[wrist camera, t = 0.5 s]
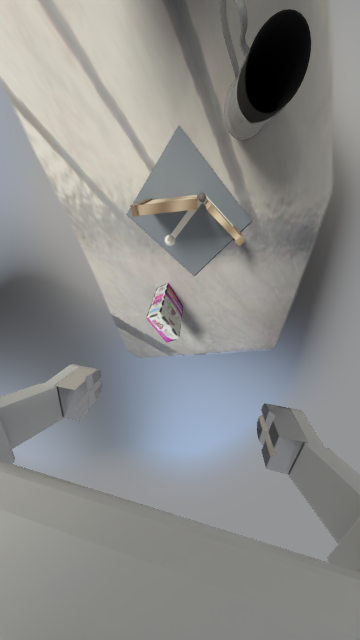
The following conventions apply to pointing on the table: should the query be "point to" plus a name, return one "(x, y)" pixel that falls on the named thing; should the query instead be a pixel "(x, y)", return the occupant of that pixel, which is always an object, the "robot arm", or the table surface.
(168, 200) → the brown wooden panel
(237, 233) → the bar
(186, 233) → the card
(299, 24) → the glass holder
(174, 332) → the candy bar box
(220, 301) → the table surface
